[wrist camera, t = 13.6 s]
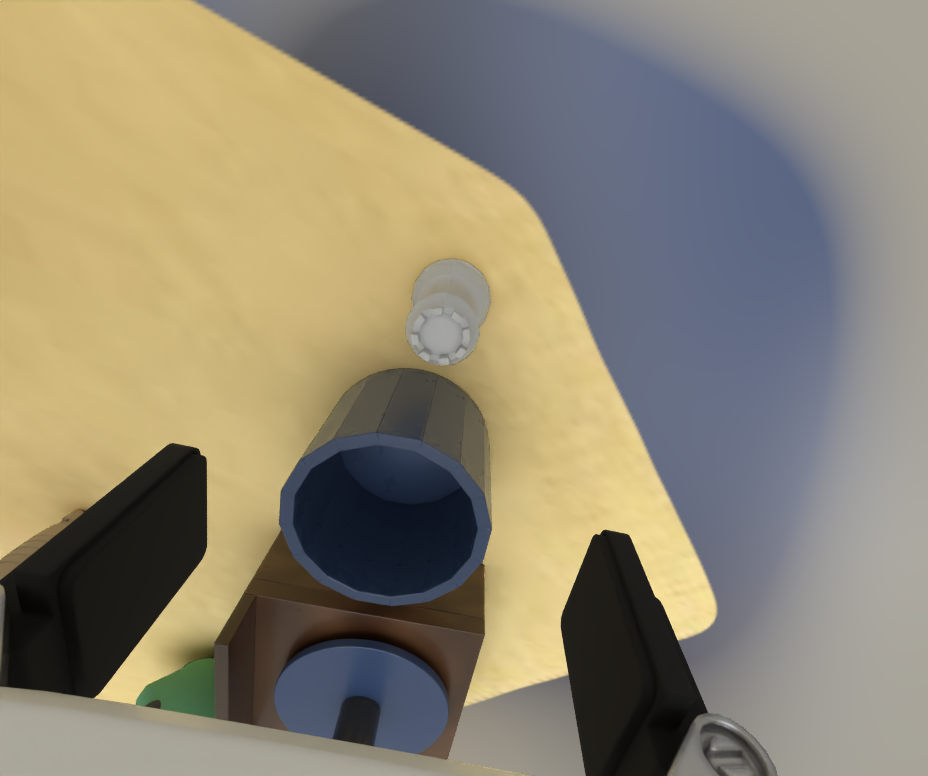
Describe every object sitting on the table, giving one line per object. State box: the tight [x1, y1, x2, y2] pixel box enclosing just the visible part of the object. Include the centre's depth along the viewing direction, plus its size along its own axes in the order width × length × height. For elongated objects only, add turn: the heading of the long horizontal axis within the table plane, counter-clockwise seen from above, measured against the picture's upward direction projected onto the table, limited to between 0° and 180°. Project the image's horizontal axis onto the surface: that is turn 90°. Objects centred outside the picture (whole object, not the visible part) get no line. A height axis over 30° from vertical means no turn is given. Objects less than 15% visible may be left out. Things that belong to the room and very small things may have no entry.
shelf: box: [214, 530, 485, 760], centre depth 33 cm, size 15×14×10 cm
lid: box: [274, 639, 449, 754], centre depth 29 cm, size 11×11×6 cm
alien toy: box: [136, 658, 215, 719], centre depth 36 cm, size 7×8×10 cm
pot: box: [279, 369, 492, 606], centre depth 27 cm, size 10×10×8 cm
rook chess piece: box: [405, 259, 491, 366], centre depth 24 cm, size 4×4×8 cm
